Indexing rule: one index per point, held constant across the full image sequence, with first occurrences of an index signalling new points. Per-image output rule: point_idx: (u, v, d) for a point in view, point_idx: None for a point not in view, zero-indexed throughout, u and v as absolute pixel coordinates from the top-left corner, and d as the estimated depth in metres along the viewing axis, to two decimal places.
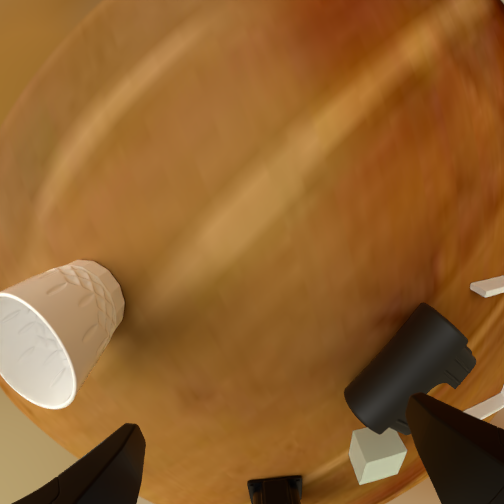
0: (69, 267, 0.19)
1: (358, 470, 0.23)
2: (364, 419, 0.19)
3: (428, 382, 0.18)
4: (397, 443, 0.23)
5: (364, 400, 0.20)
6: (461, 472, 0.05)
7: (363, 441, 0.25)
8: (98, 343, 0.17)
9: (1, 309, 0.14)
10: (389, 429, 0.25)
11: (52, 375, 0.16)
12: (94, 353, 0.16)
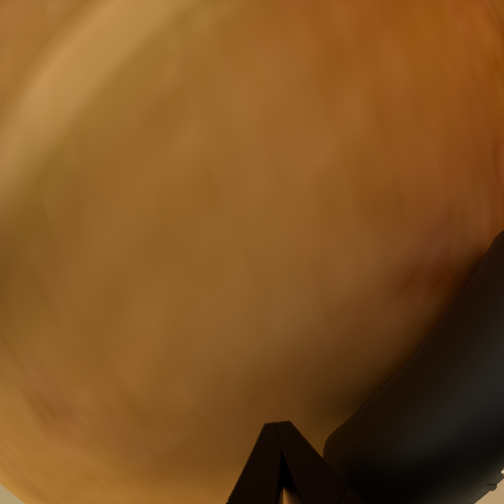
0: None
1: None
2: None
3: None
4: None
5: (371, 482, 0.06)
6: None
7: None
8: None
9: None
10: None
11: None
12: None
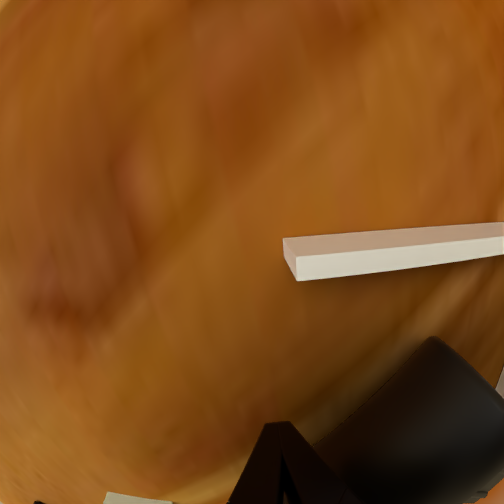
0: None
1: None
2: None
3: None
4: None
5: None
6: None
7: None
8: None
9: None
10: None
11: None
12: None
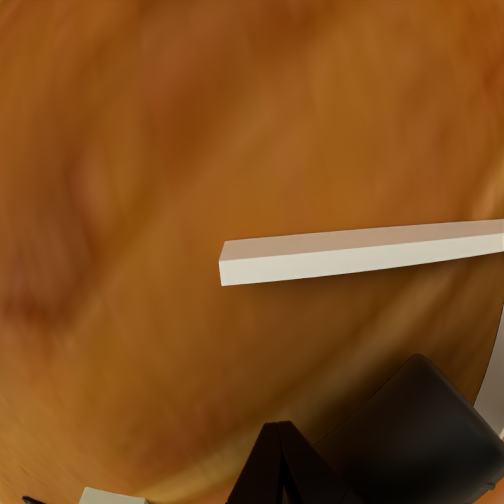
0: None
1: None
2: None
3: None
4: None
5: None
6: None
7: None
8: None
9: None
10: None
11: None
12: None
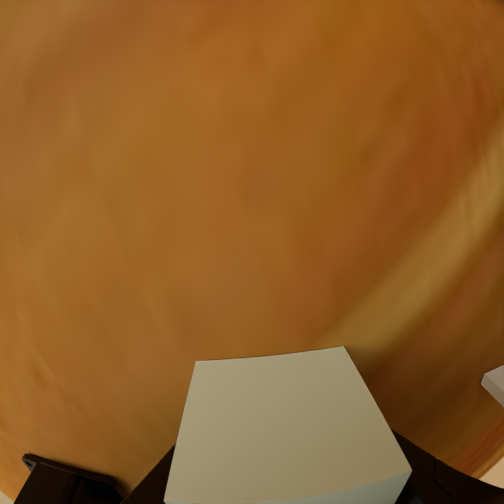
0: None
1: None
2: None
3: None
4: (362, 432, 0.05)
5: None
6: None
7: (211, 402, 0.07)
8: None
9: None
10: (334, 372, 0.07)
11: None
12: None
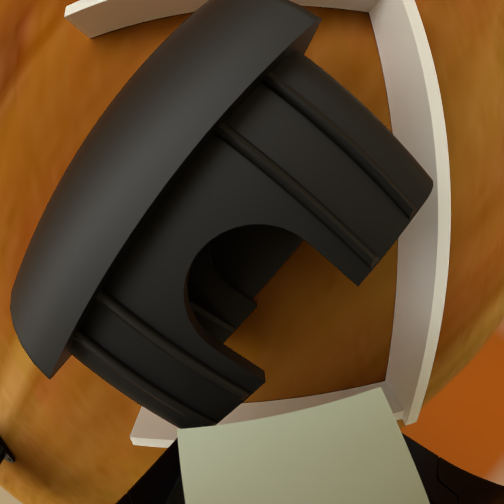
0: None
1: None
2: (11, 307, 0.06)
3: (143, 168, 0.05)
4: None
5: None
6: None
7: None
8: None
9: None
10: (376, 443, 0.05)
11: None
12: None
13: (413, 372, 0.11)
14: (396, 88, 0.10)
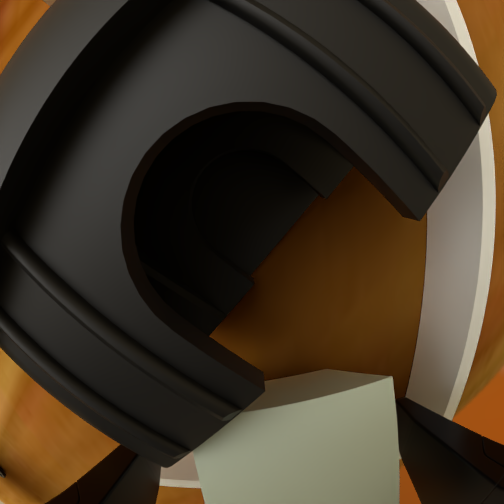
0: None
1: None
2: None
3: (71, 24, 0.02)
4: None
5: None
6: (443, 481, 0.05)
7: (235, 495, 0.05)
8: None
9: None
10: (374, 434, 0.05)
11: None
12: None
13: (438, 405, 0.08)
14: None
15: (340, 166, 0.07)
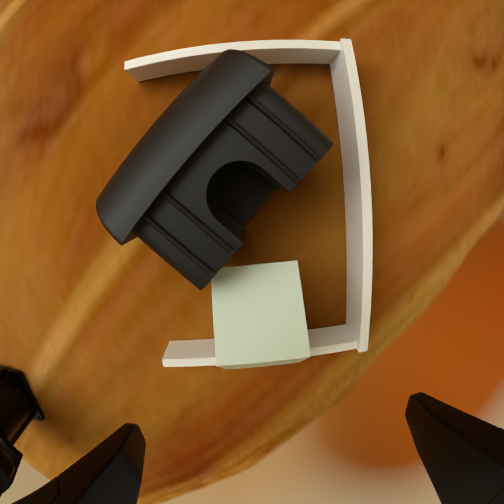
0: None
1: None
2: (99, 207, 0.12)
3: (194, 133, 0.11)
4: (294, 330, 0.14)
5: (109, 181, 0.13)
6: (461, 472, 0.05)
7: (225, 304, 0.15)
8: None
9: None
10: (288, 284, 0.15)
11: None
12: None
13: (358, 309, 0.18)
14: (342, 121, 0.17)
15: None
